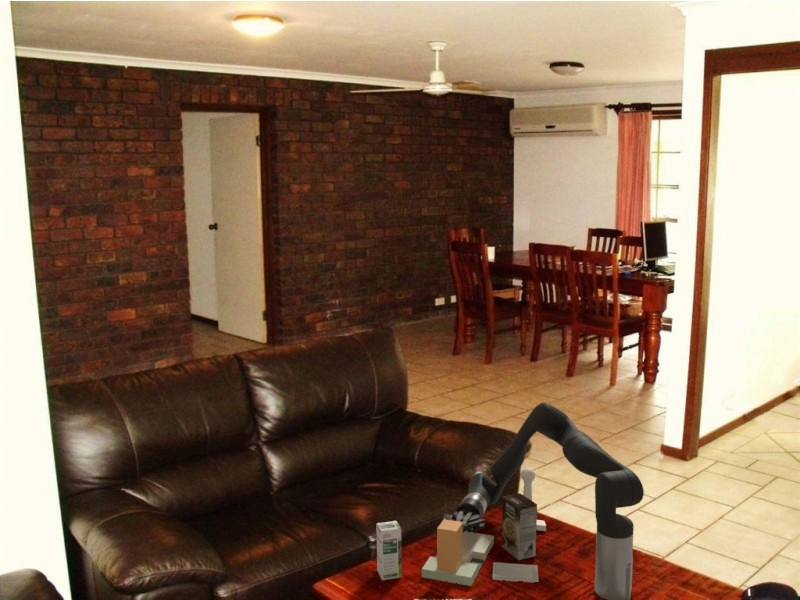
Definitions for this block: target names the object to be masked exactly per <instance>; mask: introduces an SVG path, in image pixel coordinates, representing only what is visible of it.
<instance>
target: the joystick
mask: <svg viewBox="0 0 800 600" xmlns="http://www.w3.org/2000/svg"><path fill="white" fill-rule="evenodd" d="M535 478H536V472H535V470H534V469H533V468H531V467H524V468H523V469H522V470H521V471H520V479H522V481H523V491H522V492H523V493H522V495H524V496H525V497H527V498H528V499H530V500H531V501H533V491H532V490H533V485H532V483H533V481H534V480H535ZM536 531H539V532H540V531H541V532H547V524H546V522H545V520H541V519H537V524H536Z"/></svg>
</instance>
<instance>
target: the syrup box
mask: <svg viewBox="0 0 800 600" xmlns="http://www.w3.org/2000/svg"><path fill="white" fill-rule="evenodd" d="M375 527H376V564H377V565H376V566H377V567H376V570H377V573H378V575H379V577H380V579H381V580H382V581H386V580H395V579H400V578H402V577H403V570H402V569H403V566H402V565H403V564H402V563H403V561H402V557H403V556H402V553H403V551H402V528H401V526H400V524H399V522H398V521H397V520H393V521H386V522H377V523H376V526H375Z"/></svg>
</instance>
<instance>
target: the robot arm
mask: <svg viewBox="0 0 800 600" xmlns="http://www.w3.org/2000/svg"><path fill="white" fill-rule="evenodd" d="M536 433H538V434H541V435H542V436H545V438H548V439H550V440H552V441H553V442H555V443H557V444H558V445H559V446H561V447H562V448H561V449H562V453H563V456H564V457H565V459H566V460H567V461H568V462H569V463H570V465H572V467H574V468H575V469H576V470H577V471H578V472H581V473H583V474H584V475H587V476H590V477H593V478H595V484H594V485H595V486H594V500H595V501H594V503H595V506H594V507H595V508H594V509H595V512H594V513H595V519H596V520H595V521H596V540H595V542H596V543H595V567H594V569H595V570H594V592H595V593H596V595H597V596H599V597H600V598H602V599H605V600H631V596H632V587H633V564H634V563H633V562H634V558H633V552H634V551H633V550H634V549H633V548H634V530H635V529H634V528H635V527H634V522H633V520H632V519H630V518H629V517H627V516H625V515H623V514H620V513H617V509H618V508H628V507H633V506H636V505H638V504H640V503H641V502H642V500H643V498H644V495H645V494H644V493H645V491H644V486H643V483H642V482H641V480H640V478H639V476H638V475H637V474H636V473H635V472H634V471H633V470H632V469H630V468H628V467H627V466H625V465H624V464H622V463H621V462H620V461H618V460H617V459H615V458H614V457H613V456H612V455H610V454H609V453H608V452H607V451H605V450H604V449H603V448H602V447H601V446H600V445H599V444H598V442H596V441H595V440H594V439H592V437H590V436H589V435H588V434H586V432H584V431H582V430H580V429H579V428H578V427H576V424H575V423H574V422H573V421H572V420H571V418H569V416H568V415H567V414H566V413H565V412H563V411H562V410H560V409H558V408H557V407H555V406H554V405H551V404H550V403H548V402H541V403H539V404H537V405H536V406H535V407H534V408H533V409H532V411H531V412H530V413H529V414H528V416H527V417H526V419H525V420H524V421H523V424H522V425H521V427H520V428H519V430H518V431H517V433H516V435H515V436H514V437H513V439H512V441H511V442H510V443H509V445H508V446H507V448H506V449H505V450H504V451H503V452H502V453H501V455H499V456H498V458H497V459H496V460H494V462H493V463H492V464H491V466H490V469H489V471H490V473H491V475H492V476H493V478H494V480H495V481H496V482H495V481H494V480H492V479H491V477H489V475H487V474H485V473H484V472H478V473H475V474H474V475H473V476H472V477H471V479H470V480H469V484H468V490H467V491H468V493H467V495H466V496H464V498H463V499H462V501H461V502H460V503H459V504H458V506H457V508H456V510H455V511H454V512H453V513H451V514H449V513H444V514H443V520H444V519H445V520H452V521H458V522H463V533H464V532H465V531H466V532H469V533H470V532H472V533H475V532H477V531H480V530H483V529H485V528H486V519H485V518H483V516H484V515H485V512H486V510H487V508H488V506H490V505H491V506H492V505H494V504H497V502H498V500H499V499H500V497H501V495H502V492H503V491H504V488H505V487H506V484H508V482H509V481H510V480H511V478H512V477H513V476H514V475H515V474H516V473H517V472H518V470H520V468H521V467H522V465H523V464H524V461H525V458H526V454H527V453H526V452H527V448H528V444H529V442H530V441H531V438H532V437H533V436H534V435H535V434H536Z"/></svg>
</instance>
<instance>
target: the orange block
mask: <svg viewBox="0 0 800 600" xmlns="http://www.w3.org/2000/svg"><path fill="white" fill-rule="evenodd" d="M436 545H437V546H436V551H437V552H436V554H437V570H442V571H448V572H454V573H457V571H458V570H459V568H460V566H461V564H462V563H463V522H458V521H452V520H445V519H444V518H443V519H442V520H441V523H440V524H439V525H438V526H437V530H436Z"/></svg>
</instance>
